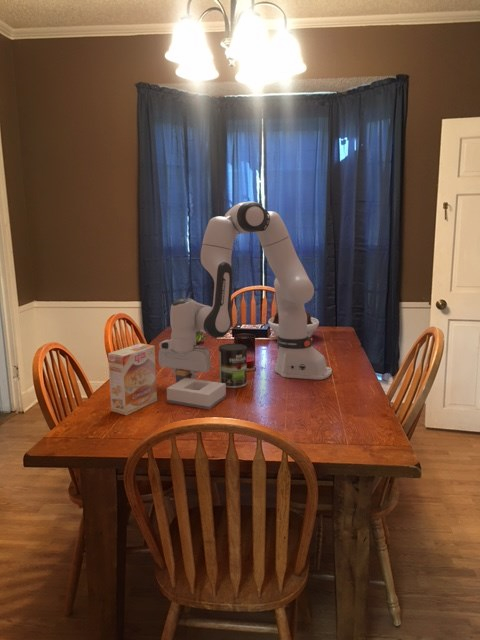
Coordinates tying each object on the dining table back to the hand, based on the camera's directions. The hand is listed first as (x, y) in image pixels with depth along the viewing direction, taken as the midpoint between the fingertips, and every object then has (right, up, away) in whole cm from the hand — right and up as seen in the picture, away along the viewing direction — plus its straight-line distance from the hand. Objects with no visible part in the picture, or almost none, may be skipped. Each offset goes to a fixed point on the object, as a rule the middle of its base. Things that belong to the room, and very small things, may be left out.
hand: (185, 380), depth 184 cm
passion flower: (-2, +11, +65) cm, 66 cm away
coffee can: (+17, -2, +4) cm, 18 cm away
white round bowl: (+46, +12, +69) cm, 84 cm away
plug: (0, -3, +1) cm, 3 cm away
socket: (+5, -5, -12) cm, 14 cm away
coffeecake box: (-15, -7, -16) cm, 23 cm away
